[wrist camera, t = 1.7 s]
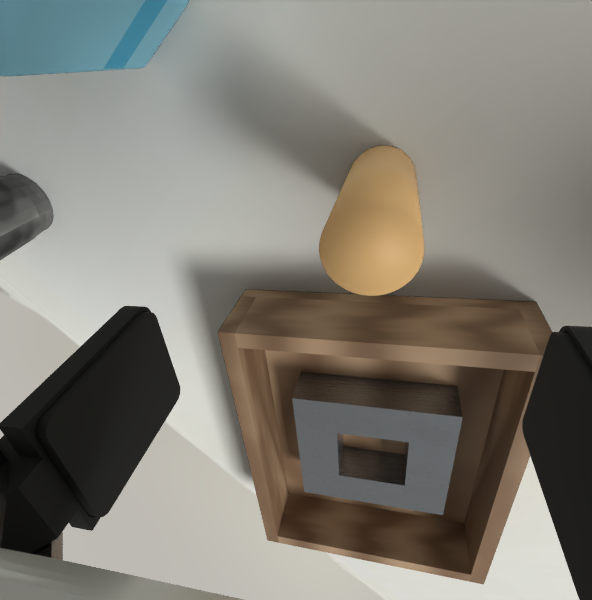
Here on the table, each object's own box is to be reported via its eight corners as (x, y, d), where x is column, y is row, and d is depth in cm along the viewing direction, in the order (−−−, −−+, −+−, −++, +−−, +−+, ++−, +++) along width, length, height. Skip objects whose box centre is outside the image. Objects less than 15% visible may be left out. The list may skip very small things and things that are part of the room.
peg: (419, 143, 22) (429, 200, 13) (413, 212, 24) (420, 298, 15) (347, 147, 23) (316, 201, 14) (348, 213, 25) (322, 293, 16)
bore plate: (457, 385, 29) (462, 417, 26) (440, 482, 35) (442, 515, 33) (300, 371, 32) (292, 398, 29) (310, 463, 38) (304, 491, 35)
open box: (536, 301, 25) (565, 357, 20) (474, 521, 38) (483, 584, 34) (245, 289, 30) (217, 332, 25) (281, 489, 43) (267, 540, 39)
